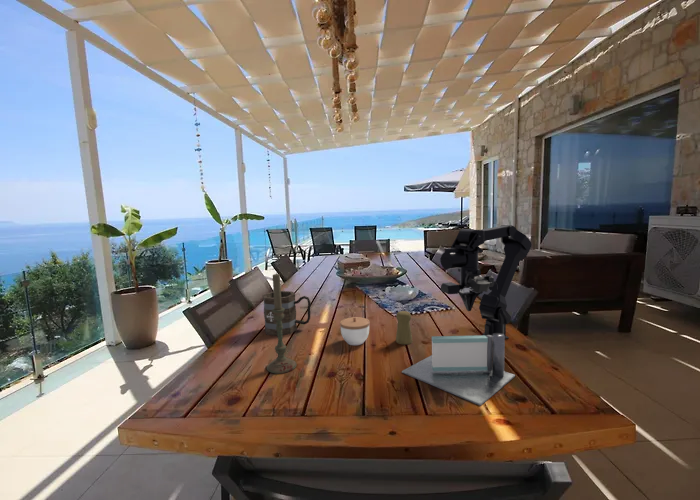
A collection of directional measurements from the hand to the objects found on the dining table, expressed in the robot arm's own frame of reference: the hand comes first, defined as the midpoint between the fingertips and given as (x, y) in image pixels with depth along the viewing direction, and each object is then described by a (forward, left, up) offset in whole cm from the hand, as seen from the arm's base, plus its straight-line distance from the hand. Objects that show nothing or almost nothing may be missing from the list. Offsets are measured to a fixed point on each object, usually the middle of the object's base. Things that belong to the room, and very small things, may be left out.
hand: (468, 310), depth 114 cm
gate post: (+16, +18, -12) cm, 27 cm away
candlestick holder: (+64, -3, -12) cm, 65 cm away
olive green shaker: (+20, -10, -12) cm, 26 cm away
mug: (+60, -37, -12) cm, 72 cm away
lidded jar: (+37, -15, -12) cm, 42 cm away
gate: (+14, +18, -11) cm, 25 cm away
